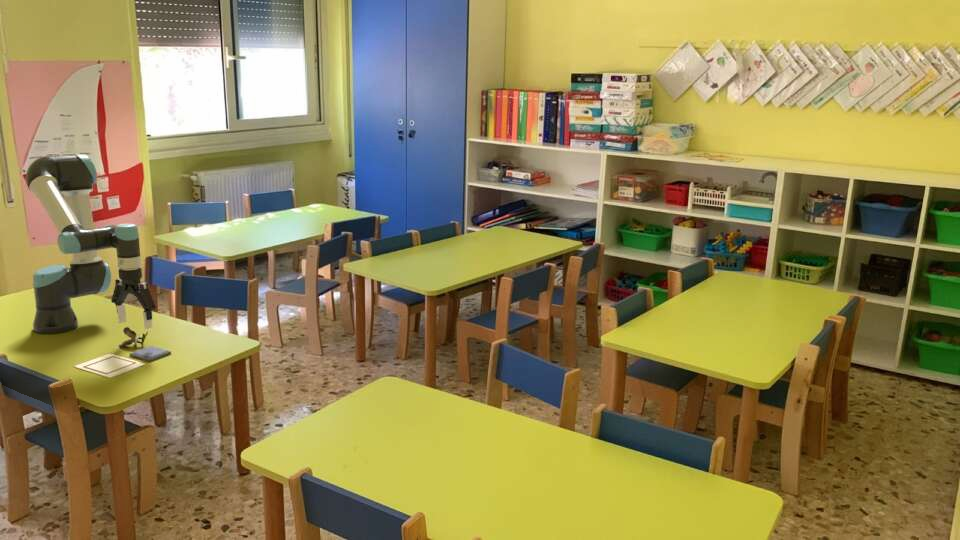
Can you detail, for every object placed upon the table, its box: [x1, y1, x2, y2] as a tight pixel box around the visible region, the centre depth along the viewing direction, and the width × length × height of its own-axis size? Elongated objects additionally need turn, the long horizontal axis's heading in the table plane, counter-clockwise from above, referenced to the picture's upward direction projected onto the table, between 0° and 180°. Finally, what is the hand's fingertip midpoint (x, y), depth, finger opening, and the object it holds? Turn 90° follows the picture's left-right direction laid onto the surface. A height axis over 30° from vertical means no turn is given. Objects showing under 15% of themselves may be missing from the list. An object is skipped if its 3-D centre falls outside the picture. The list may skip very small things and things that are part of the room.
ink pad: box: [129, 345, 172, 362], centre depth 277 cm, size 10×9×1 cm
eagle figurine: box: [118, 326, 149, 348], centre depth 284 cm, size 8×7×9 cm
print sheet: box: [73, 353, 147, 379], centre depth 266 cm, size 18×14×1 cm
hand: (135, 325), depth 283 cm, fingers open, 13 cm apart
